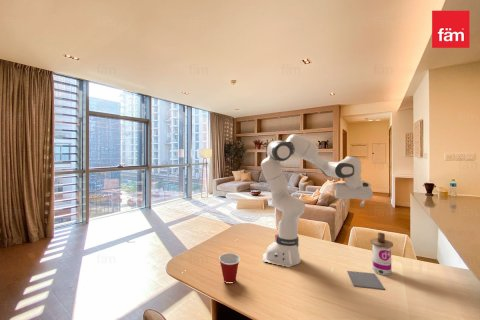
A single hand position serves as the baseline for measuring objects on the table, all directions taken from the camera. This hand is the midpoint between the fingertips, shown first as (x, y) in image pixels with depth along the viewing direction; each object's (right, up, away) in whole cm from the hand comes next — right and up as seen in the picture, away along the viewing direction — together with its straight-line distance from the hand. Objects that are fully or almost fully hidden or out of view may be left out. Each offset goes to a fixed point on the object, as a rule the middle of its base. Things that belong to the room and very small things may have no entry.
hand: (353, 206), depth 130 cm
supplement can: (+6, -31, -16) cm, 36 cm away
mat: (-7, -32, -24) cm, 40 cm away
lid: (+6, -16, -17) cm, 24 cm away
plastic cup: (-73, -33, -21) cm, 83 cm away
